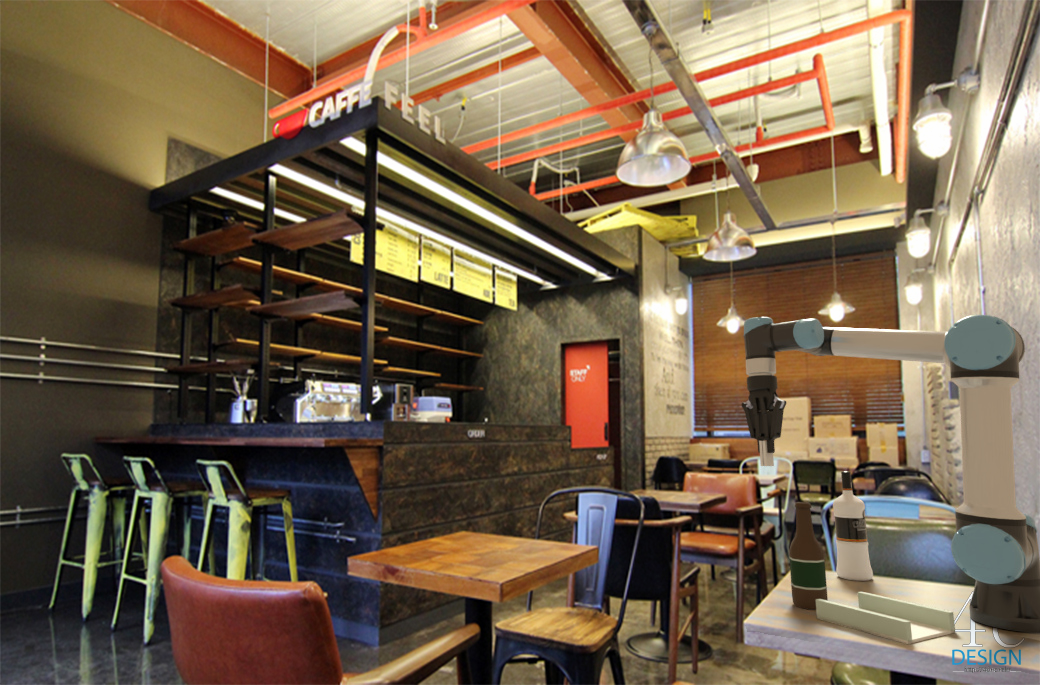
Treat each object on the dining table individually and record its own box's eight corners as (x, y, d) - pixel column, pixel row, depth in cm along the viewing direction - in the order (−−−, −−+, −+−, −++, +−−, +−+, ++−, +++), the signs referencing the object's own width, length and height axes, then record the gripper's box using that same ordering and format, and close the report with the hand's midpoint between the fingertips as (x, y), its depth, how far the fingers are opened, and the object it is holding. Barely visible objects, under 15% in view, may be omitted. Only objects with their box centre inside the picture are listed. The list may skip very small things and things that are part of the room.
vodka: (843, 573, 185) (835, 470, 190) (877, 578, 179) (868, 471, 183) (831, 578, 179) (823, 471, 184) (866, 583, 172) (857, 472, 177)
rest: (955, 632, 127) (953, 611, 128) (907, 644, 120) (905, 622, 121) (863, 609, 145) (861, 591, 146) (816, 618, 138) (815, 599, 138)
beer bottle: (826, 612, 143) (818, 504, 147) (789, 607, 147) (782, 502, 151) (830, 604, 150) (822, 501, 153) (795, 600, 154) (788, 500, 157)
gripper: (792, 373, 162) (799, 466, 158) (751, 378, 174) (757, 464, 170) (771, 372, 158) (778, 467, 155) (732, 377, 170) (737, 465, 166)
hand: (767, 465), depth 162 cm, fingers closed
